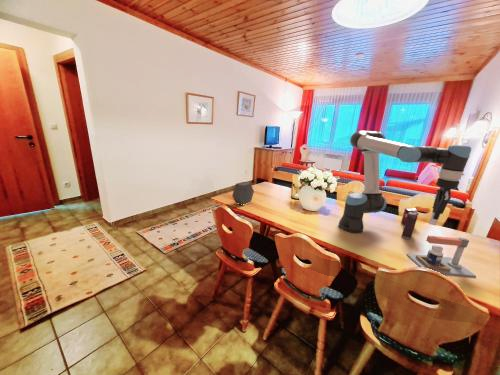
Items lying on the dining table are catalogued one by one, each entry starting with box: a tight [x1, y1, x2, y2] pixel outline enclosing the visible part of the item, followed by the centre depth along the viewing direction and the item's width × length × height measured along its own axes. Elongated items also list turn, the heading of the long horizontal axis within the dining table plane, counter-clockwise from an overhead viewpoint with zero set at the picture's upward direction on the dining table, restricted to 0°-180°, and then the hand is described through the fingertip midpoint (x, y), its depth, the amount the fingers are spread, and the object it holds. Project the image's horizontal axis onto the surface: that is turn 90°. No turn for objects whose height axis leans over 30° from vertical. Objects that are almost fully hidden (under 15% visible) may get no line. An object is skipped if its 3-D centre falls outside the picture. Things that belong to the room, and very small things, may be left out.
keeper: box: [426, 235, 470, 248], centre depth 99 cm, size 4×17×3 cm, turn 84°
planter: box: [231, 181, 255, 206], centre depth 171 cm, size 17×8×21 cm
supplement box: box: [401, 211, 419, 240], centre depth 129 cm, size 9×5×16 cm, turn 137°
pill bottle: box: [425, 244, 444, 266], centre depth 101 cm, size 5×5×10 cm
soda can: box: [400, 207, 419, 227], centre depth 146 cm, size 7×7×12 cm
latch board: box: [406, 246, 477, 278], centre depth 101 cm, size 22×14×12 cm, turn 85°
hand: (432, 224), depth 103 cm, fingers closed
